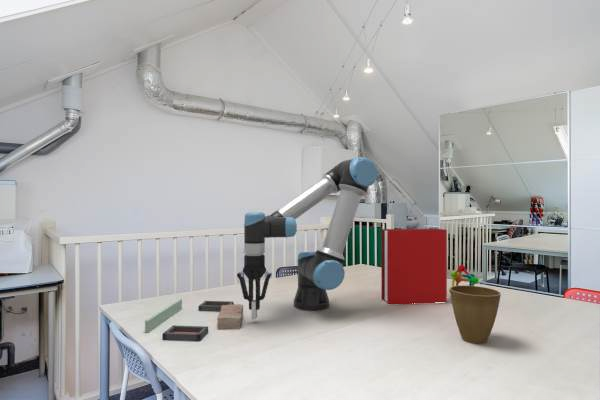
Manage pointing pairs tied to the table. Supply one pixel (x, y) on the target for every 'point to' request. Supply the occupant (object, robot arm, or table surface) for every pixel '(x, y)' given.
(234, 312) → the brick
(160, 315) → the sage end wall
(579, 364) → the table surface
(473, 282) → the educational toy
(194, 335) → the trap pits
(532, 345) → the table surface
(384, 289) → the book
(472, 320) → the plant pot
